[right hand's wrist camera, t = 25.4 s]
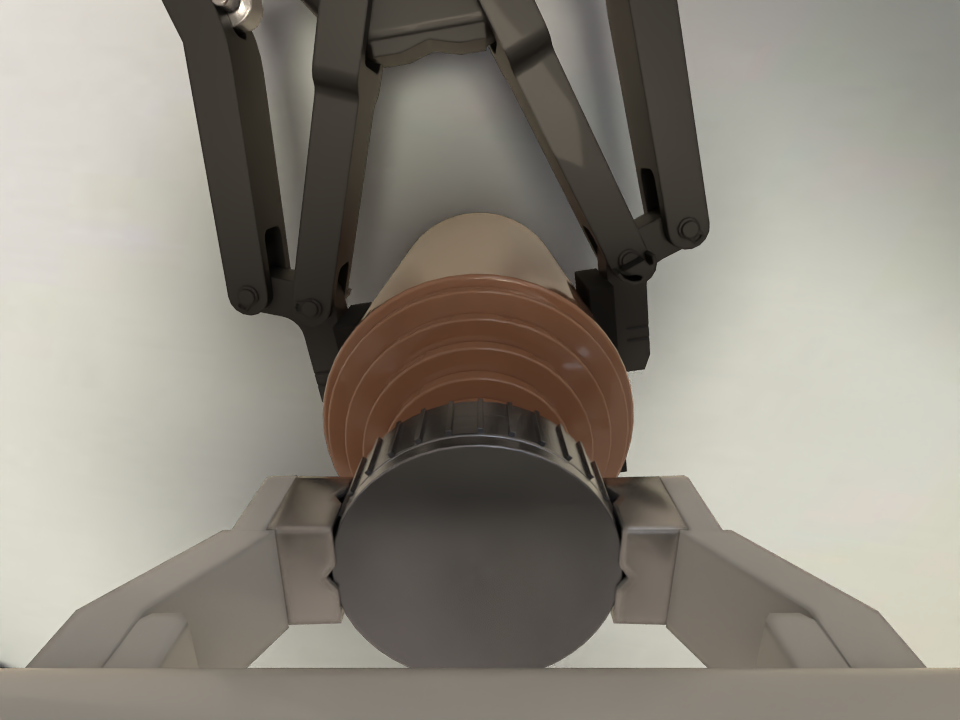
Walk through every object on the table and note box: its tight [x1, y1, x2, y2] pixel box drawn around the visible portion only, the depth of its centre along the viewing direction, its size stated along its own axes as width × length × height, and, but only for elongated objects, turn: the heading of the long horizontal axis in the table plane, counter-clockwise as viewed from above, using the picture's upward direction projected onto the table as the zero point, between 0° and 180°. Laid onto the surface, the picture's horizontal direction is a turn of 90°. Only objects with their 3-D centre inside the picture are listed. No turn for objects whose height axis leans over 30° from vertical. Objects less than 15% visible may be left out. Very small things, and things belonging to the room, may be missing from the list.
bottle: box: [323, 213, 634, 478], centre depth 17 cm, size 7×7×17 cm
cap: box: [332, 399, 623, 668], centre depth 9 cm, size 4×5×2 cm
